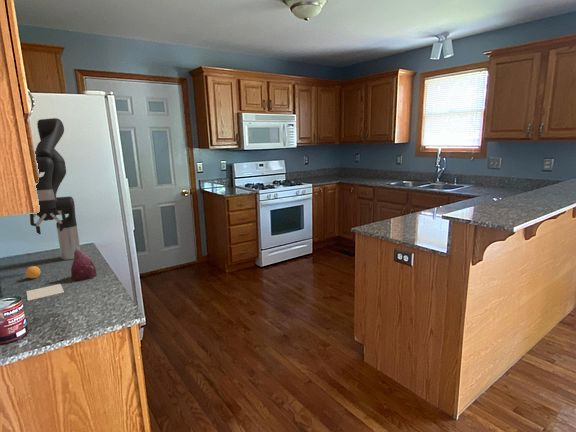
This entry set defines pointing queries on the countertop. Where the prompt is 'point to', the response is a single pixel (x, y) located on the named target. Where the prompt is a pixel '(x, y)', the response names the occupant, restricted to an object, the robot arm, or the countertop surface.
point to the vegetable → (82, 267)
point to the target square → (44, 292)
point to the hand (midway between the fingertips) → (50, 232)
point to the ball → (33, 272)
